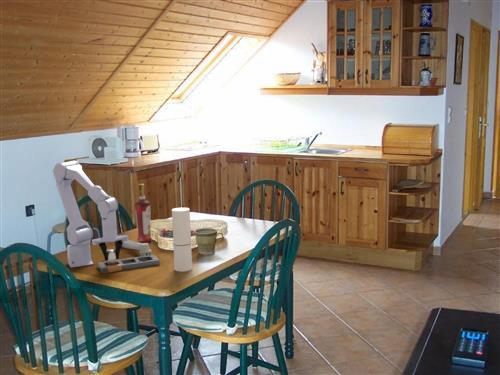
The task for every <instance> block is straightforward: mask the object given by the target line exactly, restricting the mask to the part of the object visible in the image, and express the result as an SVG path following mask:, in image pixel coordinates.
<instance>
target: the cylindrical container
mask: <svg viewBox="0 0 500 375" xmlns="http://www.w3.org/2000/svg"><path fill="white" fill-rule="evenodd" d="M190 210H191V209H190V208H189V207H174V208H172V209H171V221H172V223H171V224H172V241H173V242H172V244H173V263H174V271H176V272H181V273H182V272H183V273H184V272H188V271H191V270H192V269H193V259H192V256H193V255H192V236H191V233H192V232H191V214H190Z"/></svg>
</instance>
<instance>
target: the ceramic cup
mask: <svg viewBox="0 0 500 375" xmlns="http://www.w3.org/2000/svg"><path fill="white" fill-rule="evenodd" d="M194 235H195V236H194V237H195V241H196V244H197V248H198V253H199V254H201V255H212V254H214V253H215V251H216V250H215V249H216V245H217V244H218V243H219V242H220V241H222V240H223V238H224V234H223V233H222V232H218V229H216V228H212V227H203V228H199V229H198V228H197V229H195V230H194ZM219 235H221V238H219V240H217V237H218V236H219Z"/></svg>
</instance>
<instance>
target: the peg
mask: <svg viewBox="0 0 500 375" xmlns="http://www.w3.org/2000/svg"><path fill="white" fill-rule="evenodd" d="M117 260H118V259H117V257H116V249H112V248H111V249H107V266H111V265H117Z"/></svg>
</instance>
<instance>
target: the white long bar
mask: <svg viewBox="0 0 500 375" xmlns="http://www.w3.org/2000/svg"><path fill="white" fill-rule="evenodd" d="M122 242H123V245H122V247H121V248H124V249H131V250H135V251H136V250H137V251H138V253H139V255H140V256H139V257H141V256H148V255H152V249H150V248H151V247H150V245H149V242H148V243H140V242H139V241H138V242H137V241H135V240H130V239H129V238H128V241H122Z"/></svg>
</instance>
